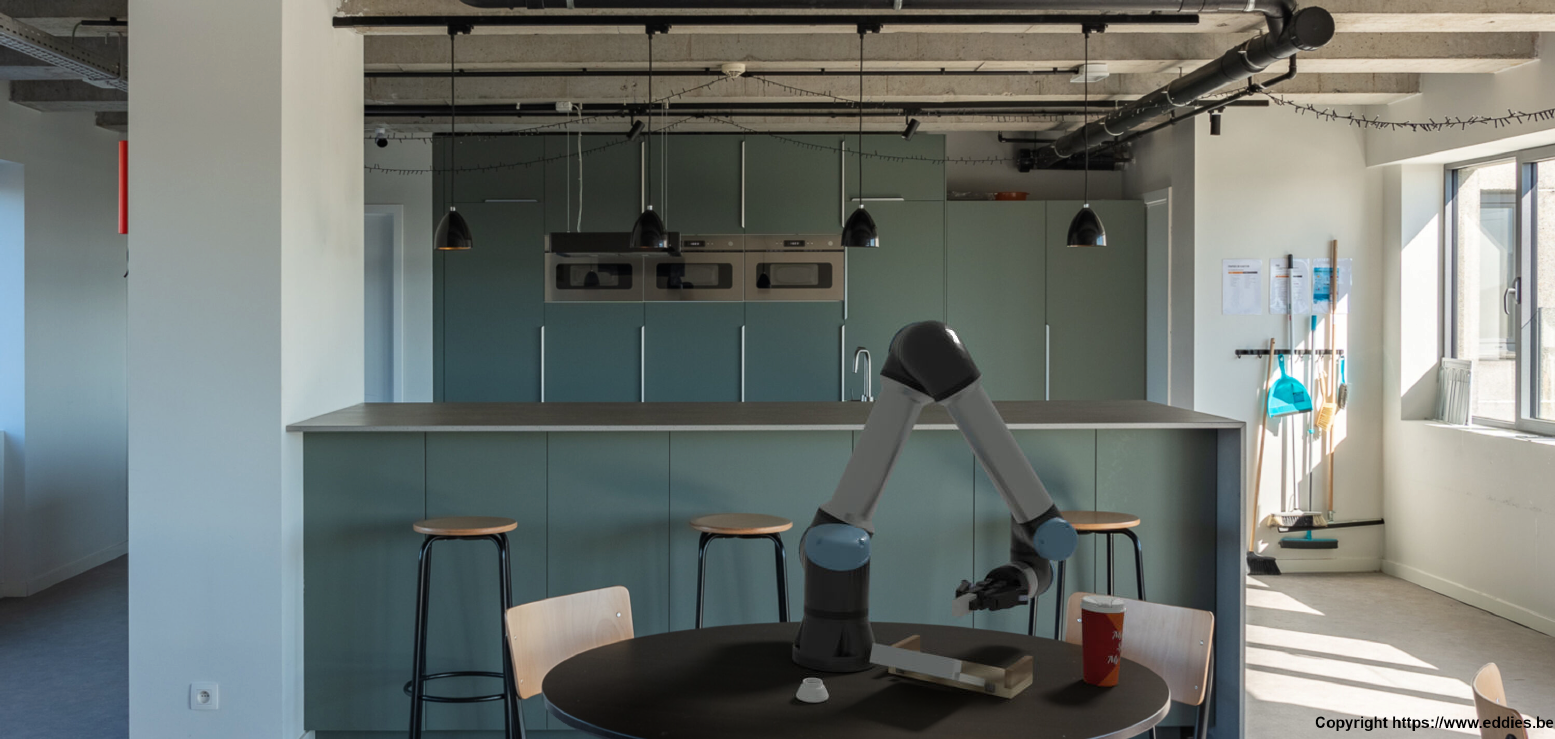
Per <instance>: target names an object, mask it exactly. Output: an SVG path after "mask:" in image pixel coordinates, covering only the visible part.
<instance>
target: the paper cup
mask: <svg viewBox="0 0 1555 739" xmlns="http://www.w3.org/2000/svg"><path fill="white" fill-rule="evenodd" d="M1078 606H1079V607H1080V608H1081V612H1080V613H1081V614H1080V615H1081V637H1082V638H1081V643H1082V644H1081V647H1082V648H1081V649H1082V671H1083V672H1082V673H1083V681H1084V682H1085V683H1087V684H1089V685H1093V686H1098V687H1107V688H1108V687H1114V686H1117V685H1118V682H1119V676H1120V675H1119V673H1120V666H1121V665H1120V663H1121V654H1122V652H1121V651H1122V643H1123V633H1124V622H1125V621H1124V620H1125V612H1126V611H1127V610H1128V609H1127V608H1126V606H1125V602H1124V600H1122V599H1120V598H1117V597H1113V596H1108V595H1107V596H1106V595H1086V596H1083V597H1082V599H1081V602H1080V603H1079V605H1078Z"/></svg>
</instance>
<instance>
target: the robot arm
mask: <svg viewBox="0 0 1555 739" xmlns="http://www.w3.org/2000/svg"><path fill="white" fill-rule="evenodd" d="M887 352H888V353H887V354H888V355H887V357H886V359H885V361H884V364H883V366H882V368H881V371H880V373H879V375H878V378H879V381H880V383H881V389H880V392H879V393H878V396H877V398H876V401H875V402H874V405H873V407H872V409H871V411H870V414H869V416H868V418H867V420H866V422H865V425H864V426H863V429H862V431H861V433H860V435H859V438H858V439H857V442H856V445H855V447H854V449H853V450H852V452H851V456H850V457H849V459H848V462H847V464H846V466H845V468H844V470H843V472H842V474H841V477H840V479H839V481H838V484H837V486H836V488H835V490H834V493H833V494H832V496H831V498H830V500H828V501H827V502H824V503H821V504H819V506H818V508H817V511H816V512H815V515H814V517H813V518H812V522H811V523H810V524H809V526H808V527H806V530H805V531H804V532H803V533H802V535H801V538H800V540H799V544H798V558H799V562H800V563H801V567H802V569H803V572H804V582H803V583H804V586H803V587H804V588H803V615H802V619H801V622H800V625H799V628H798V629H797V633H796V636H795V639H794V642H793V645H792V661H793V662H794V663H796V664H797V665H799V666H801V667H804V668H807V669H810V670H815V671H821V672H830V673H850V672H851V673H853V672H859V671H860V672H861V671H865V670H868V669H871V668H873V667H875V666H876V665H877V664H875V663H871V662H870V656H871V651H872V645H873V643H876V640H875V636H874V633H873V630H872V626H871V623H870V622H871V621H870V618H869V617H870V616H869V611H870V580H871V578H870V577H871V576H870V575H871V571H870V570H871V556H872V551H873V550H872V549H873V548H872V546H871V542H872V541H871V540H872V538H873V536H874V533H875V531H876V530H875V527H874V524H873V522H872V520H873V516H874V514H875V512H876V510H877V508H878V505H879V503H880V501H881V498H882V496H884V493H885V491H886V489H887V485H888V484H889V482H890V479H892V478H891V477H892V476H893V473H894V471H895V468H896V467H897V464H898V462H899V460H900V457H901V456H902V453H903V451H904V450H905V446H906V445H907V443H908V440H909V438H910V436H911V434H912V431H913V429H914V427H915V425H916V423H917V421H918V418H919V416H920V413H921V412H922V410H923V407H924V406H926V405H928V404H930V403H931V404H932V403H933V402H934V403H935V404H936V405H941V406H943V407H944V408H945V409H946V411H947V413H948V415H949V416H950V417H951V419H952V420H953V423H954V424H955V425H956V427H957V429H958V430H959V432H960V434H961V435H962V437H963V438H964V440H965V441H966V443H967V445H968V447H969V448H970V449H971V451H972V452H973V455H974V456H975V457H976V459H977V460H978V462H979V464H980V466H982V468H983V470H984V472H985V473H986V475H987V477H988V479H989V480H990V481H991V483H992V484H993V486H994V488H995V489H996V492H998V494H999V496H1000V497H1001V499H1002V500H1003V502H1004V504H1005V505H1006V507H1007V508H1008V510H1009V512H1010V513H1009V514H1010V532H1009V533H1010V534H1009V536H1010V537H1009V538H1010V540H1009V541H1010V544H1009V546H1010V548H1009V562H1008V563H1005V564H1003V565H1000V566H998V567H995V568H993V569H992V570H990V571H989V572H988V573H987V574H986V576H985V578H984V579H983V580H979V581H977V582H975V584H973V582H972V581H970V580H967V579H962V580H961V583H960V585H959V586H958V587H957V588H956V589H955V596H954V597H955V598H954V599H952V600H951V601H952V604H951V605H952V606H951V607H952V608H951V613H952V614H951V617H956V618H962V617H964V616H967V615H969V614H971V613H973V612H975V611H985V610H986V609H988V611H990V612H996V611H1000V610H1010V609H1012V608H1015V607H1017V606H1027V605H1029V600H1030V599H1033V598H1036V597H1037V596H1041V595H1043V594H1045V593H1046V592H1047V591H1048V590H1049V589H1050V588H1051V587H1053V586H1054V584H1055V581H1056V577H1057V570H1056V567H1055V565H1054V563H1053V562H1061V561H1064V560H1067V559H1069V558H1070V557H1071V556H1072V555H1074V553H1075V552H1076V550H1077V548H1078V544H1079V535H1078V532H1077V530H1076V528H1075V527H1074V526H1073V525H1072V524H1071V523H1070V522H1069V521H1068V520H1067V519H1065V518H1064V516H1063V515H1062V513H1061V511H1060V510H1059V509H1058V507H1057V505H1056V504H1055V502H1054V500H1053V499H1052V497H1051V496H1050V494H1049V492H1048V491H1047V488H1046V487H1045V486H1044V484H1043V483H1042V481H1041V479H1040V478H1039V476H1038V475H1037V473H1036V472H1035V470H1034V468H1033V467H1032V465H1031V463H1030V461H1029V459H1028V458H1027V457H1026V455H1025V454H1024V452H1023V450H1022V449H1021V447H1020V445H1019V444H1018V443H1017V441H1016V439H1015V437H1014V435H1013V434H1012V432H1011V431H1010V429H1009V427H1008V426H1007V425H1006V422H1005V421H1004V420H1003V417H1002V416H1001V414H1000V413H999V411H998V410H997V408H996V406H995V405H994V403H993V402H992V400H991V399H990V397H989V395H988V394H987V392H986V390H985V389H984V387H983V385H982V379H983V375H982V373H981V371H980V369H979V368H978V366H977V364H976V363H975V361H974V359H973V357H972V355H971V354H970V352H969V350H968V348H967V346H966V345H965V343H964V341H963V339H962V338H961V336H960V335H959V334H958V332H957V331H956V330H955V329H954V328H952V326H950V325H949V324H947V323H945V322H943V321H940V320H933V319H931V320H930V319H929V320H928V319H927V320H922V321H913V322H910V323H908V324H906V325H903V327H902V328H900V329H899V330H898V331H896V333H895V334H894V336H893V337H892V339H891V341H890V343H889V346H888V351H887Z"/></svg>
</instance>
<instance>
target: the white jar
mask: <svg viewBox="0 0 1555 739" xmlns="http://www.w3.org/2000/svg"><path fill="white" fill-rule="evenodd" d="M795 695H796V696H795V697H796V698H797V699H798V700H799V701H802V702H806V703H809V704H811V703H813V704H814V703H815V704H816V703H822V702H825V701H827V700H828V699H829V693H828V690H827V688H826V686H825V685H824V684H823V680H822V679H820V678H816V677H808V678H804V679H803V680H802V683H801V684H800V686H799V687H798V690H797V692H796V694H795Z"/></svg>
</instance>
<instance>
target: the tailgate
mask: <svg viewBox="0 0 1555 739" xmlns="http://www.w3.org/2000/svg"><path fill="white" fill-rule="evenodd" d="M891 646H892V645H885V644H880V643H876V642H875V643H873V645H872V651H871V656H870V662H871V663H875V664H876V665H879V666H884V667H888V668H889V667H893V668H897V669H902V670H906V671H911V672H916V673H920V674H925V675H930V676H935V677H940V678H944V679H949V680H954V681H959V682H964V683H968V684H973V685H978V686H983V687H984V685H985V679H983V678H979V677H975V676H971V675H967V674H963V673H960V671H961V664H962V661H963V660H962V661H960V659H957V658H951V657H947V656H942V655H936V654H933V653H932V654H931V653H926V652H922V651H920V652H917V651H911V650H906V649H901V648H896V647H891Z"/></svg>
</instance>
